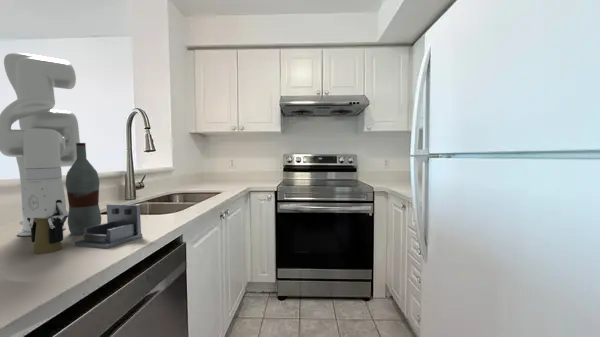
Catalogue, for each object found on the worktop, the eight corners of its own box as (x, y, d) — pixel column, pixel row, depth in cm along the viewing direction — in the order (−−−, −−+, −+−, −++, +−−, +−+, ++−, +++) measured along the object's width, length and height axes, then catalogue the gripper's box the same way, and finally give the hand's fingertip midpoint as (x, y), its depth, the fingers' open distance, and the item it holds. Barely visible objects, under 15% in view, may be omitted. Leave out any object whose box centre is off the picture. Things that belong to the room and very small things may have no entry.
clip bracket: (74, 245, 85) (73, 210, 85) (112, 234, 97) (111, 203, 96) (107, 248, 82) (105, 211, 81) (142, 236, 93) (140, 204, 93)
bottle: (60, 235, 97) (55, 142, 96) (81, 228, 106) (77, 143, 105) (89, 235, 97) (84, 142, 95) (108, 228, 106) (103, 143, 105)
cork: (45, 254, 78) (43, 212, 77) (27, 253, 79) (24, 211, 78) (68, 247, 84) (65, 208, 83) (50, 246, 85) (48, 207, 84)
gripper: (5, 176, 79) (9, 243, 80) (51, 176, 74) (55, 247, 75) (37, 174, 86) (40, 236, 87) (81, 174, 81) (84, 239, 82)
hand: (47, 240), depth 81 cm, fingers open, 5 cm apart
